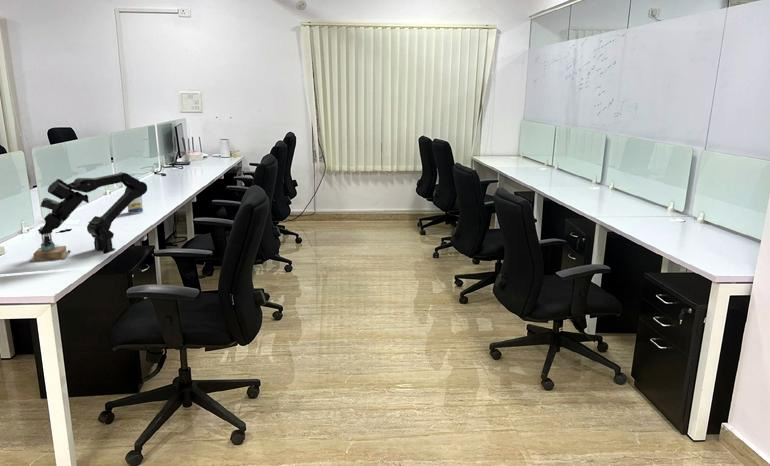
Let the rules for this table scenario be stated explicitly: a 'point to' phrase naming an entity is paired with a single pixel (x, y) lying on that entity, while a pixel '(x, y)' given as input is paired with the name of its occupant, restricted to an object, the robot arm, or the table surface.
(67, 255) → the base plate
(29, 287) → the table surface
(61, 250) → the tan flat square block
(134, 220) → the table surface
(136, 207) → the beverage bottle
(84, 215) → the table surface
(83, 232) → the table surface
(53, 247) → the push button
